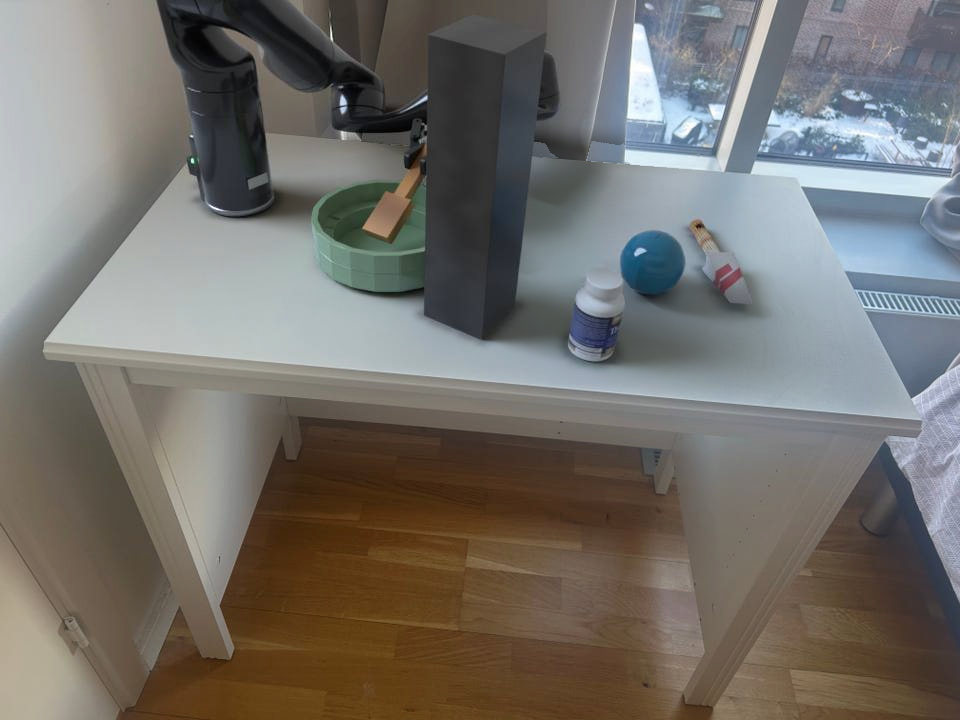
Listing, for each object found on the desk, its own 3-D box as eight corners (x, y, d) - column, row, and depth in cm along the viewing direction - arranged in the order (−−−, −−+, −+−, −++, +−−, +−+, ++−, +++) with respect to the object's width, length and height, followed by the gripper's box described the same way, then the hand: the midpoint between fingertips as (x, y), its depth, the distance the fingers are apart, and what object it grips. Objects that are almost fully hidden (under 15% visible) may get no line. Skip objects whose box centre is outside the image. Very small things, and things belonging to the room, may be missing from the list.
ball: (687, 287, 96) (703, 234, 90) (658, 315, 91) (674, 260, 85) (633, 264, 99) (645, 211, 94) (602, 289, 94) (614, 235, 89)
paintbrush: (729, 292, 90) (685, 215, 105) (723, 311, 91) (681, 232, 107) (760, 293, 90) (712, 216, 106) (753, 312, 92) (707, 233, 107)
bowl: (285, 263, 94) (279, 222, 90) (373, 205, 106) (372, 166, 103) (405, 315, 87) (405, 273, 84) (485, 247, 100) (488, 207, 96)
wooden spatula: (391, 244, 93) (387, 238, 91) (366, 235, 94) (361, 228, 93) (453, 146, 97) (449, 138, 95) (427, 138, 98) (424, 130, 97)
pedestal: (423, 315, 88) (428, 34, 67) (459, 283, 93) (473, 14, 72) (481, 340, 85) (505, 54, 64) (515, 305, 90) (546, 32, 69)
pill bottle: (612, 367, 83) (629, 296, 76) (564, 358, 83) (577, 287, 77) (615, 337, 87) (631, 268, 80) (569, 329, 87) (582, 260, 81)
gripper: (443, 82, 106) (369, 122, 94) (528, 107, 101) (461, 152, 89) (442, 132, 111) (371, 176, 99) (523, 158, 106) (459, 207, 94)
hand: (414, 164), depth 94 cm, fingers closed on wooden spatula, 2 cm apart
